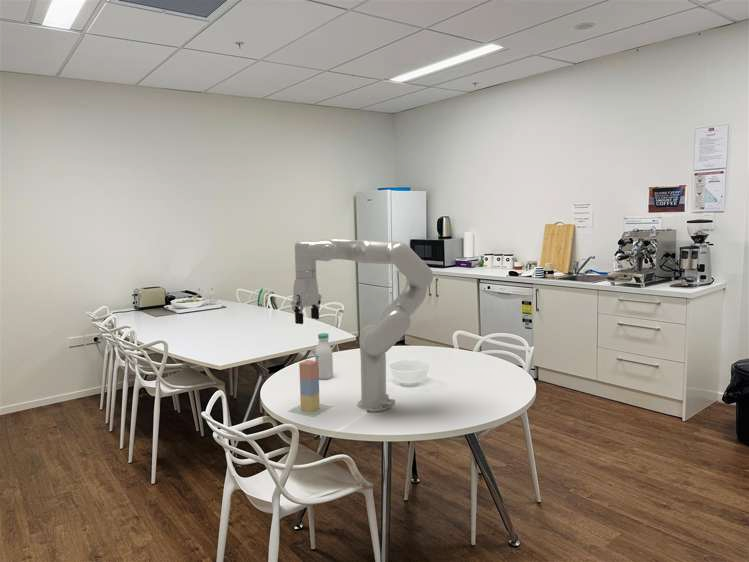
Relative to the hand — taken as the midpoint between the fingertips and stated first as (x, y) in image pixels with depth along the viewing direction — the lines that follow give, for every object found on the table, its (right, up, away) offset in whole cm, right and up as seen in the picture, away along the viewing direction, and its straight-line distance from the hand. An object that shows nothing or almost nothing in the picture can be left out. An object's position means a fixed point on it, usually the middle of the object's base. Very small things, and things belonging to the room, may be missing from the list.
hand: (307, 321), depth 200 cm
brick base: (0, -33, +4) cm, 34 cm away
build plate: (+1, -34, +4) cm, 34 cm away
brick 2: (0, -27, +3) cm, 28 cm away
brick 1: (0, -21, +3) cm, 22 cm away
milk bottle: (+2, -29, +46) cm, 54 cm away
